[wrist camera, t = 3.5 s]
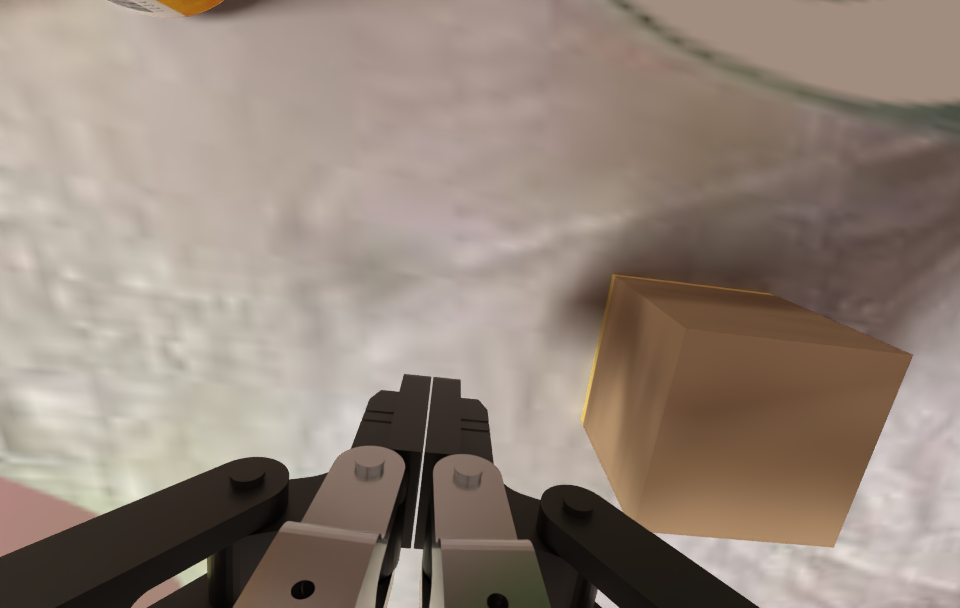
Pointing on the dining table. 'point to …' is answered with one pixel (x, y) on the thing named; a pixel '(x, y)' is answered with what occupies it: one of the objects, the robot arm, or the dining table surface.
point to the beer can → (168, 7)
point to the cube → (734, 411)
